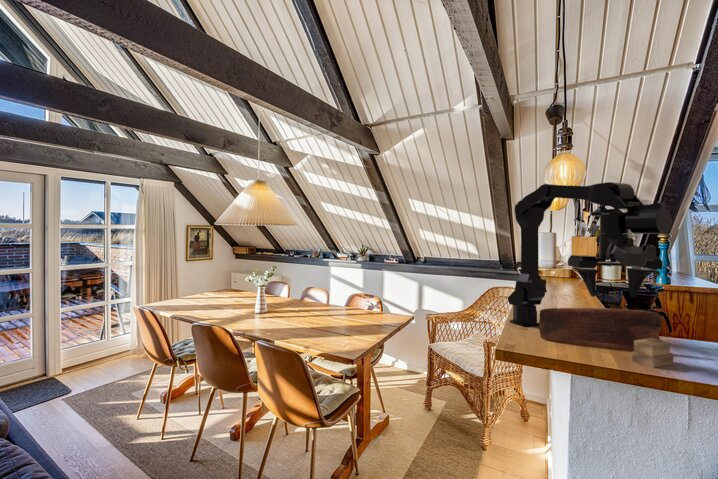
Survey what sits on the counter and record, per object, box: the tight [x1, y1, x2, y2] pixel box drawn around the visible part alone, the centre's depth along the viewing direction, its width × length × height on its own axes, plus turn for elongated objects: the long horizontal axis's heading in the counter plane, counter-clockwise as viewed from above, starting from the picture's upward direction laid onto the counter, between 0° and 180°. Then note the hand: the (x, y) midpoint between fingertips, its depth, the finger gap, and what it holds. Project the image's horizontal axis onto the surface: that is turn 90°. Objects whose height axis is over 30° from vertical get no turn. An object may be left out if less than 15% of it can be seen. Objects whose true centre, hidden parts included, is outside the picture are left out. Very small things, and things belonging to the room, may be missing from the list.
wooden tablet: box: [538, 307, 663, 351], centre depth 85 cm, size 26×2×10 cm, turn 69°
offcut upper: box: [633, 338, 671, 357], centre depth 73 cm, size 4×6×2 cm, turn 109°
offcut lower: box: [631, 350, 674, 369], centre depth 73 cm, size 4×7×2 cm, turn 110°
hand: (612, 296), depth 81 cm, fingers open, 9 cm apart
